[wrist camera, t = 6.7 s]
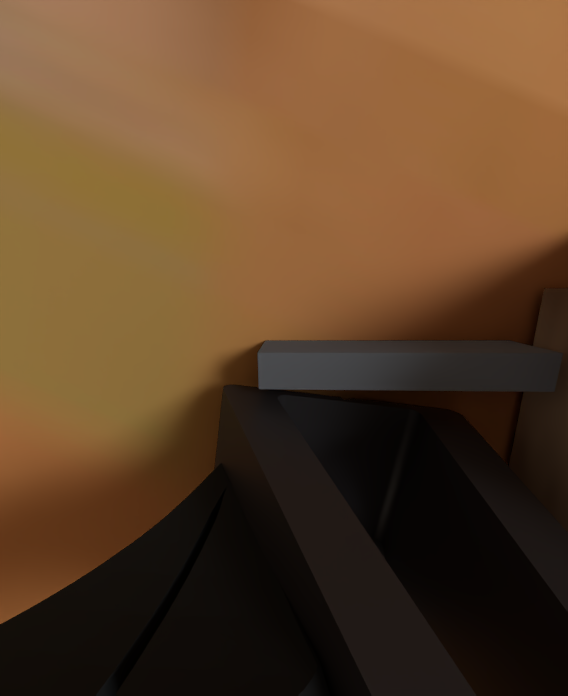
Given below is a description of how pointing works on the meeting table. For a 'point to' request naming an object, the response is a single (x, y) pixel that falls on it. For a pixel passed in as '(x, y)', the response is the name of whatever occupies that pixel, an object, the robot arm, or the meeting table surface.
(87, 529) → the meeting table surface
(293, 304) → the meeting table surface
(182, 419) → the meeting table surface
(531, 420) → the door
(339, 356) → the keeper
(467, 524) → the phone stand
